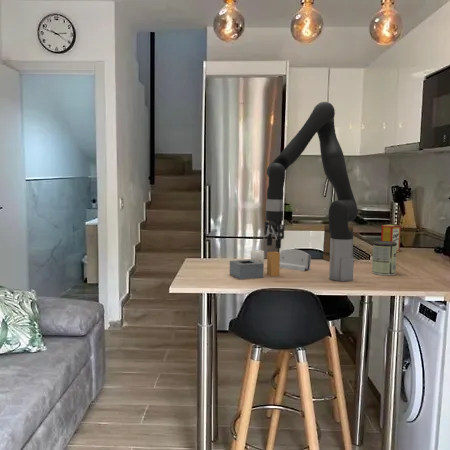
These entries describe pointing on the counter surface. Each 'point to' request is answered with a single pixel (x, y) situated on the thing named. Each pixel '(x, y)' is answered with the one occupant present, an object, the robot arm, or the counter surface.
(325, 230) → the wooden container
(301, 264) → the grey curved-top upright plate
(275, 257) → the square bit
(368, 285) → the counter surface
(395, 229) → the baking soda box
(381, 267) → the coffee can
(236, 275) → the block
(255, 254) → the round bit
